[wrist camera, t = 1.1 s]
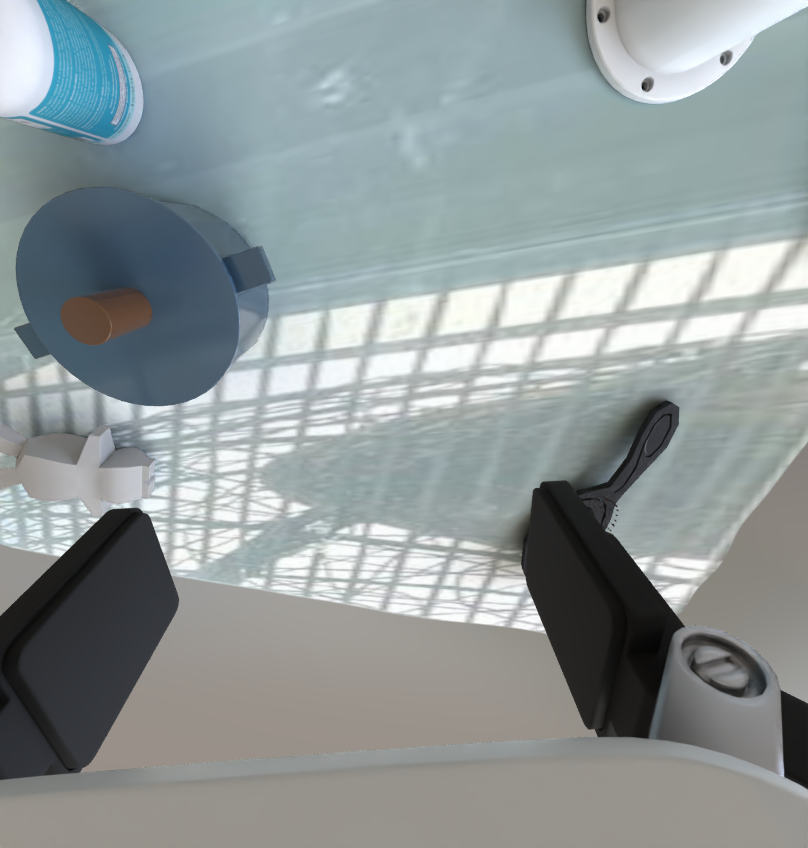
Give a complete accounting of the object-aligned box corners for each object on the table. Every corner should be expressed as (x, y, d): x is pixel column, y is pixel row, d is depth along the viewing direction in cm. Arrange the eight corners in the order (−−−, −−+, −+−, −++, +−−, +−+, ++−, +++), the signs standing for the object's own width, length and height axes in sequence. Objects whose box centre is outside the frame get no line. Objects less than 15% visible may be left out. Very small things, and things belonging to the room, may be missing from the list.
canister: (45, 243, 34) (-55, 247, 27) (256, 168, 33) (214, 149, 25) (135, 390, 40) (74, 428, 32) (320, 334, 38) (301, 359, 30)
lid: (-20, 229, 27) (-118, 228, 22) (181, 156, 26) (127, 136, 20) (108, 422, 33) (54, 457, 28) (277, 371, 31) (254, 398, 26)
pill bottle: (109, 2, 28) (-107, -174, 16) (168, 126, 31) (23, 59, 19) (16, 45, 29) (-257, -91, 17) (82, 162, 32) (-109, 119, 20)
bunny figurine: (141, 530, 42) (-38, 511, 38) (160, 499, 47) (2, 480, 43) (142, 450, 38) (-56, 421, 35) (163, 425, 43) (-11, 398, 39)
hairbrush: (721, 429, 40) (570, 607, 48) (694, 415, 44) (558, 584, 52) (655, 393, 38) (510, 584, 46) (633, 381, 42) (501, 561, 50)
